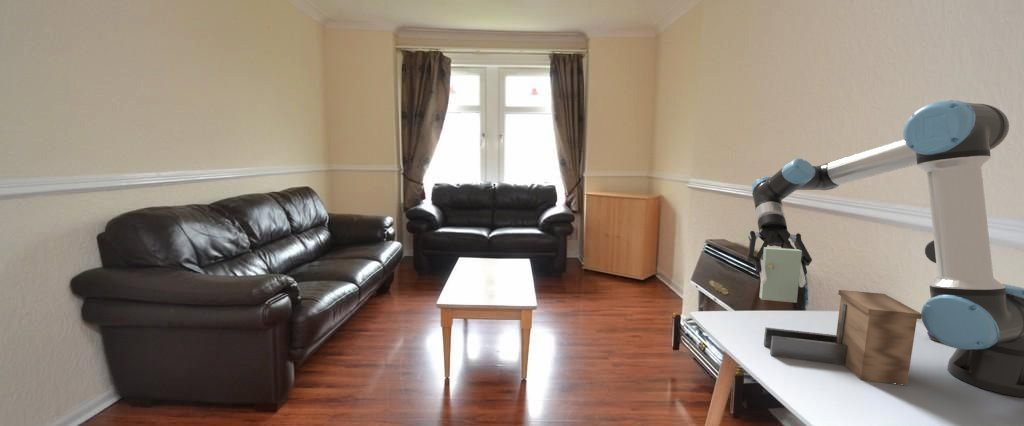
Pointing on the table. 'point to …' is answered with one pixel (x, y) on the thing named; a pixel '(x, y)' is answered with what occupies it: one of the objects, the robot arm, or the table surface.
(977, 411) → the table surface
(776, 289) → the cabinet door
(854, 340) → the walnut cabinet
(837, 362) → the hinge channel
